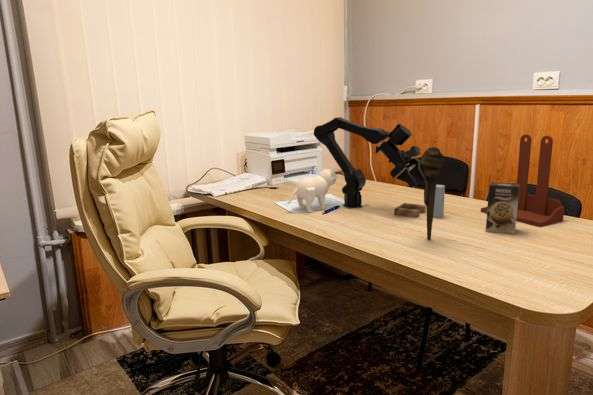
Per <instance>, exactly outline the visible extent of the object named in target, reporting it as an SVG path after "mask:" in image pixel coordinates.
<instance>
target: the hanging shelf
mask: <svg viewBox="0 0 593 395" xmlns="http://www.w3.org/2000/svg"><path fill="white" fill-rule="evenodd" d="M530 135H531V134H522V135H521V136H520V139H519V151H518V152H519V153H518V160H517V161H518V162H517V173H516V184H520V187H519V197H518V208H517V218H516V223H521V224H526V225H530V226H532V227H533V226H534V227H537V228H541V227H546V226H549V225H552V224H556V223H561V222H564V215H565V206H563V205H562V202H561V201H560V200H559V199H555V198H549V197H548V193H549V184H550V173H551V164H552V154H553V146H554V145H553V144H554V140H553V137H552V136H550V135H545V136H543V137H541V139H540V146H539V153H538V154H539V158H538V168H537V178H536V188H535V195H534V194H529V193H528V186H529V185H528V182H529V171H530V160H531V148H532V137H531V136H530ZM525 139H526V140H525ZM546 140H547V141H548V142H546ZM487 208H488V205H487V206H485V207H481V208H480V213H484V214H486V215H487Z"/></svg>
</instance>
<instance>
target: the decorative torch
mask: <svg viewBox="0 0 593 395" xmlns="http://www.w3.org/2000/svg"><path fill="white" fill-rule="evenodd" d="M444 161H445V156H444V155H443V153H442V152H441V150H440V149H439V148H438V147H434V146H432V147H428V148H426V150H425V151H424V153H423V154H422V155H421V158H420V171H421V173H422V175H423V177H424V179H425V181H424V189H423V203H424V205H426V239H427V240H429V241H430V240H431V239H432V229H433V219H434V218H433V211H434V202H435V192H436V185H437V183H438V182H437V181H438V176H439V175H440V171H441V168H442V167H443V165H444Z"/></svg>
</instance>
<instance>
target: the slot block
mask: <svg viewBox="0 0 593 395" xmlns="http://www.w3.org/2000/svg"><path fill="white" fill-rule="evenodd" d="M393 211H394V216H400V217H407V218H415V219H417V218H419V217H420V213H423V214H424V213H425V212H427V209H426V205H425V204H417V203H410V202H409V203H406V202H404V203H401V204H400V205H398V206H397V207H394V208H393Z"/></svg>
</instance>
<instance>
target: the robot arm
mask: <svg viewBox="0 0 593 395" xmlns="http://www.w3.org/2000/svg"><path fill="white" fill-rule="evenodd" d="M338 129H341V130H343V131H346V132H349V133H351V134H354V135H357V136H360V137H362V138H363V139H364V140H365V141H367V142H368V143H370V144H372V145H377V144H380V145H377V146H375V152H374V153H375V154H379V153H382V154H383V155H384V156H385V157H386V159H387V160H388V163H389V164H392V165H393V168H392V169H391V170H390V171H389V172H390V176H391V178H393V179H396V180H399V181H402V182H404V183H406V184H409V185H410V186H413V187H416V186H417V185H418V183H417V182H416V180H415V179H414V178H416V179H417V180H419V181H420V182H423V183H425V179H424V176H423V173H422V170H421V159H420V158H418V157H417V156H419V155H421V154H422V153H421V148H420V147H419V146H417V145H413V146H411V147H410V149H409V150H407V151H405V150H403V149H402V150H400V148H399V147H398V146H401V147H402V146H403V145H404V144H405V143H406V142H407V141H408V140H409V139H410V138H411V137H412V136H413V133H412V131H411V130H410V129H409V128H407V127H406V126H404V125H402V124H401V123H397V124H396V125H395V127H394V128H393V129H392V130H391V131H386V130H385V129H383V128H380V127H373V126H372V127H371V126H365V125H363V124H359V123H356V122H354V121H351V120H348V119H345V118H343V117H341V116H340V117H333V119H331V120H329V121H327V122H325V123H324V124H321V125H320V124H319V125H316V126H315V128H313V136H314V138H316V140H317V141H319V143H321V144H322V145H324V146H325V147H326V148H327V150H328V152H329V153H330V154H331V157H332V158H333V159H334V161H335V162H336V163H337V165H338V167H339V168H340V170H341V171H342V173H343V177H344V182H345V185H343V187H342V188H341V191H342V194H344V195H343V197H344V200H343V201H344V203H342V206H344V207H346V208H348V209H353V208H362V207H363V205H362V201H363V200H362V193H361V191H362V190H363V187H365V185H366V182H367V179H366V175H365V174H364V173H363V171H362V169H361V168H358V169H356V168H355V167H354V166H353V164H352V163H351V161H350V160H349V158H348V157H347V155H346V154H345V153H344V151H343V150H342V148H341V147H340V145H339V143H338V142H337V140H336V135H335V134H336V133H335V132H336V131H337V130H338ZM386 140H387V141H386Z"/></svg>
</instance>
